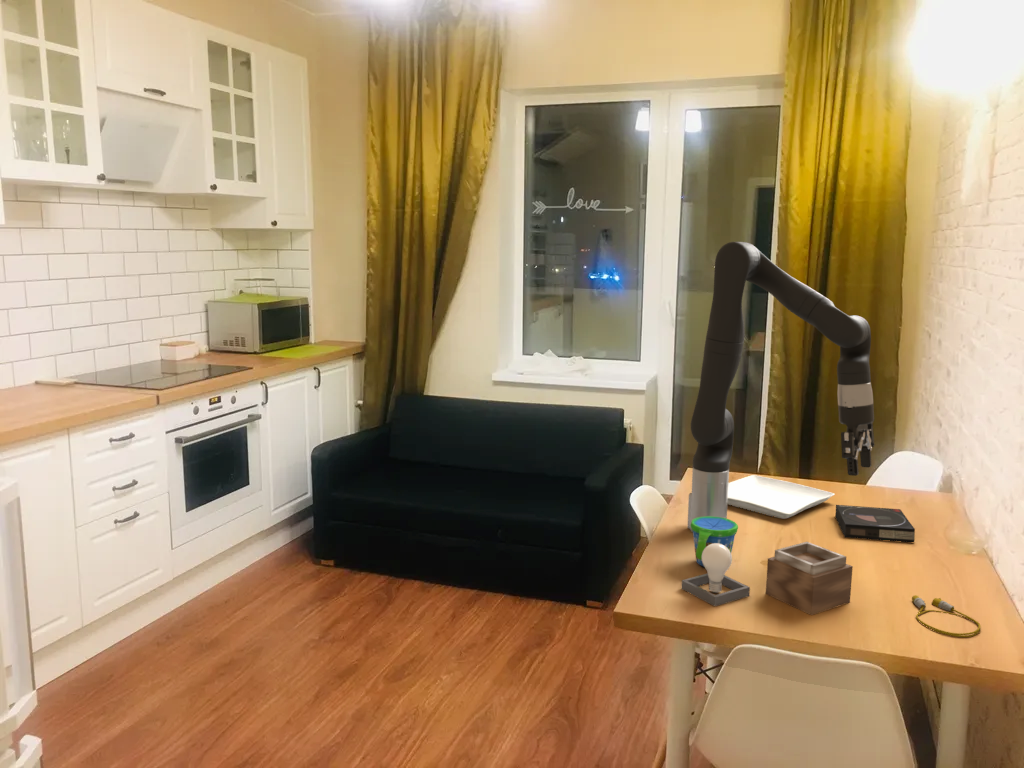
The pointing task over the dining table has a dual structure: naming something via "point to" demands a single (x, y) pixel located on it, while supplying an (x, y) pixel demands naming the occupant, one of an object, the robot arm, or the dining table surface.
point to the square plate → (774, 496)
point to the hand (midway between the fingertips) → (859, 471)
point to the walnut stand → (809, 577)
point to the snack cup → (712, 533)
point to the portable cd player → (874, 523)
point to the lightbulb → (716, 564)
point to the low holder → (715, 600)
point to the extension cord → (945, 606)
